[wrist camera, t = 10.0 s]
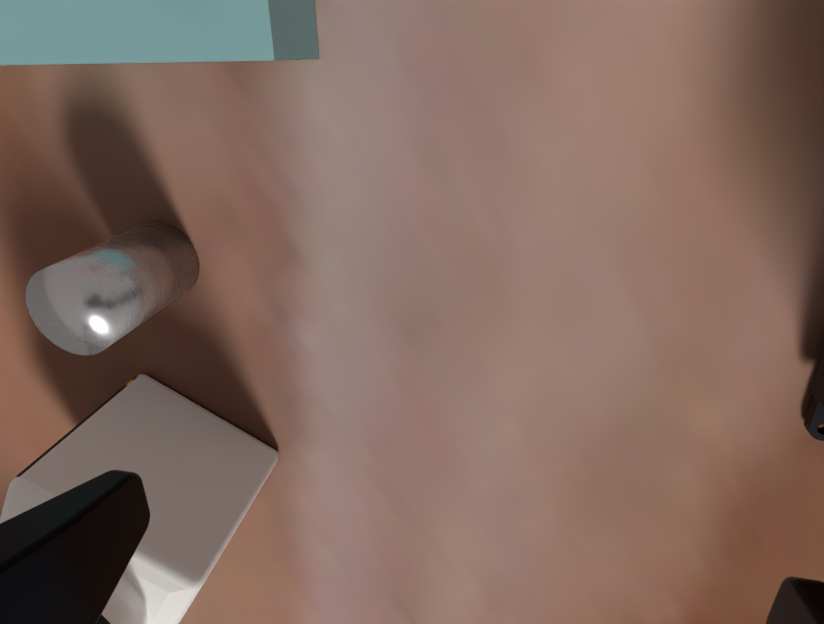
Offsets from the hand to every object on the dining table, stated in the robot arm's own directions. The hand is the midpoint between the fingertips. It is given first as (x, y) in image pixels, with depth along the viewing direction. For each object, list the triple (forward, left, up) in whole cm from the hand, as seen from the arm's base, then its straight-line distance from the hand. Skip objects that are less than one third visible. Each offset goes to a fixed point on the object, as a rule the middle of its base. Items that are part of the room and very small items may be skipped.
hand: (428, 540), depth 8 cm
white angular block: (+13, +11, -13) cm, 22 cm away
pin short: (+12, +1, -13) cm, 18 cm away
